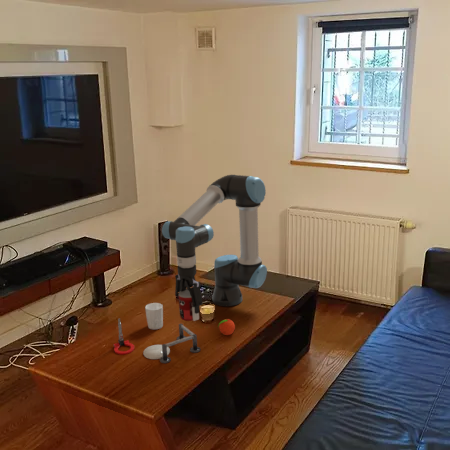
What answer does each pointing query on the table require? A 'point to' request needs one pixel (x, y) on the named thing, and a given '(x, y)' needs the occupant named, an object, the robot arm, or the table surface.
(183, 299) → the canned food
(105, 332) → the table surface
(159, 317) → the white cup
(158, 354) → the coaster
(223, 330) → the clementine
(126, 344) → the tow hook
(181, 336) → the grey angled bar frame
